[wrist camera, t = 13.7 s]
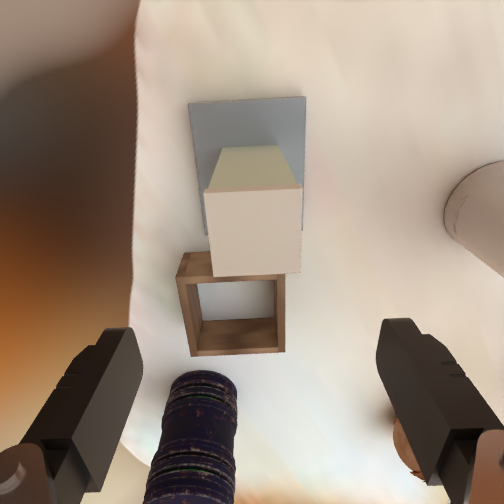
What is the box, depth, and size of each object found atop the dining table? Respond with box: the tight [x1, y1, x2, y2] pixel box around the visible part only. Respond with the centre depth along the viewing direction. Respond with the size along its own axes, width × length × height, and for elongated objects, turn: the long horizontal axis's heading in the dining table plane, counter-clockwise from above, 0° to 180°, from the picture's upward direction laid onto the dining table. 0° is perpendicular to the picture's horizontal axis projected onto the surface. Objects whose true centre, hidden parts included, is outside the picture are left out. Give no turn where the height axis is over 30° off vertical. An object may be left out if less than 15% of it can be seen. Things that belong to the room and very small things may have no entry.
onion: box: [393, 417, 437, 486], centre depth 45 cm, size 10×9×10 cm
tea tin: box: [203, 145, 303, 277], centre depth 24 cm, size 5×5×14 cm
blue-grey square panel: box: [188, 96, 306, 236], centre depth 30 cm, size 10×12×1 cm
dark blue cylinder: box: [143, 370, 237, 504], centre depth 39 cm, size 10×10×15 cm
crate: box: [175, 252, 285, 357], centre depth 35 cm, size 11×11×5 cm
